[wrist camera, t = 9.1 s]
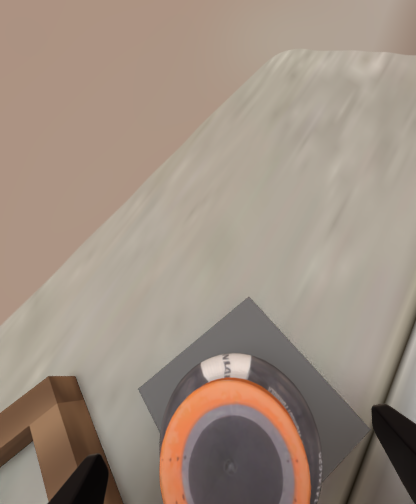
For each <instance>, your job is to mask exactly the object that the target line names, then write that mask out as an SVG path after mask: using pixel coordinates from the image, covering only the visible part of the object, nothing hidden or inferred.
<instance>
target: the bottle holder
mask: <svg viewBox="0 0 416 504" xmlns="http://www.w3.org/2000/svg"><path fill="white" fill-rule="evenodd" d="M32 441H34V445H35V449H36V453H37V457H38V461H39V465H40V469H41V473H42V477H43V481H44V485H45V489H46V493H47V497H48V501H50V500H51V499H52V498H53V496H54V495H55V494H56V493H57V491H58V490H59V489H60V488H61V487H62V485H63V484H64V483H65V482H66V481H67V479H68V478H69V477H70V476H71V474H72V473H73V472H74V471H75V470H76V468H77V467H78V466H79V465H80V463H81V462H82V461H83V460H84V459H85V458H86V457H87V456H88V455H90V454H96V453H100V454H101V455H102V457H103V459H104V461H105V463H106V465H107V467H108V470H109V478H108V484H107V489H106V494H105V499H104V504H123V502H122V499H121V496H120V494H119V491H118V489H117V486H116V483H115V481H114V478H113V475H112V473H111V470H110V467H109V465H108V462H107V459H106V457H105V454H104V452H103V449H102V446H101V444H100V441H99V438H98V436H97V433H96V430H95V428H94V425H93V423H92V420H91V417H90V415H89V412H88V409H87V407H86V404H85V401H84V399H83V396H82V393H81V391H80V388H79V386H78V383H77V380H76V378H75V376H48V377H47V378H45V379H44V380H43V381H42V382H40V383H39V384H38V385H36V386H35V387H34V388H32V389H31V390H30V391H28V392H27V393H26V394H25V395H23V396H22V397H21V398H19V399H18V400H17V401H15V402H14V403H13V404H11V405H10V406H9V407H8V408H6V409H5V410H4V411H2V412H1V413H0V467H1V466H2V465H4V464H5V463H6V462H7V461H8V460H10V459H11V458H12V457H13V456H15V455H16V454H17V453H18V452H20V451H21V450H22V449H23V448H25V447H26V446H27V445H28V444H30V443H31V442H32Z"/></svg>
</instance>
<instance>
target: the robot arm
mask: <svg viewBox="0 0 416 504" xmlns="http://www.w3.org/2000/svg"><path fill="white" fill-rule="evenodd" d="M372 425H373V429H374V431H375V433H376V435H377V437H378V439H379V441H380V443H381V444H382V446H383V448H384V450H385V452H386V454H387V455H388V457H389V459H390V461H391V463H392V465H393V466H394V468H395V470H396V472H397V474H398V476H399V477H400V479H401V481H402V483H403V485H404V486H405V488H406V490H407V492H408V494H409V495H410V497H411V499H412V500H413V502H414V504H416V424H415V423H414V422H412V421H411V420H409V419H408V418H406V417H405V416H404V415H402V414H401V413H399V412H398V411H396V410H395V409H393V408H392V407H390V406H389V405H387V404H378V405H373V406H372ZM108 478H109V470H108V467H107V465H106V463H105V461H104V459H103V457H102V455H101V454H100V453H96V454H90V455H88V456H87V457H86V458H85V459H84V460H83V461H82V462H81V463H80V465H79V466H78V467H77V468H76V470H75V471H74V472H73V473H72V474H71V476H70V477H69V478H68V479H67V481H66V482H65V483H64V484H63V485H62V487H61V488H60V489H59V490H58V491H57V493H56V494H55V495H54V496H53V498H52V499H51V500H50V501H49V502H48V504H104V499H105V494H106V489H107V484H108Z"/></svg>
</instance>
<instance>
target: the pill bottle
mask: <svg viewBox="0 0 416 504" xmlns="http://www.w3.org/2000/svg"><path fill="white" fill-rule="evenodd" d="M322 475H323V460H322V448H321V442H320V437H319V433H318V429H317V426H316V423H315V420H314V417H313V415H312V413H311V410H310V408H309V406H308V404H307V402H306V401H305V399H304V397H303V396H302V394H301V393H300V391H299V390H298V389H297V387H296V386H295V384H294V383H293V382H292V381H291V380H290V379H289V378H288V377H287V376H286V375H285V374H284V373H282V372H281V371H280V370H279V369H277V368H276V367H275V366H273V365H272V364H270V363H269V362H267V361H265V360H263V359H260V358H257V357H254V356H252V355H246V354H238V353H231V354H222V355H218V356H215V357H212V358H209V359H207V360H205V361H203V362H201V363H199V364H197V365H196V366H195V367H194V368H192V369H191V370H190V371H189V372H188V373H187V374H186V375H185V376H184V377H183V378H182V379H181V381H180V382H179V384H178V385H177V387H176V388H175V390H174V391H173V393H172V395H171V397H170V399H169V402H168V404H167V407H166V410H165V413H164V417H163V421H162V426H161V432H160V487H161V494H162V498H163V503H164V504H317V502H318V499H319V495H320V490H321V484H322Z"/></svg>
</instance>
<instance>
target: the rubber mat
mask: <svg viewBox="0 0 416 504" xmlns="http://www.w3.org/2000/svg"><path fill="white" fill-rule="evenodd" d="M231 353H238V354H246V355H252V356H254V357H257V358H260V359H263V360H265V361H267V362H269V363H270V364H272V365H273V366H275V367H276V368H277V369H279V370H280V371H281V372H282V373H284V374H285V375H286V376H287V377H288V378H289V379H290V380H291V381H292V382H293V383H294V384H295V386H296V387H297V389H298V390H299V391H300V393H301V394H302V396H303V397H304V399H305V401H306V402H307V404H308V406H309V408H310V410H311V413H312V415H313V417H314V420H315V423H316V426H317V429H318V433H319V437H320V442H321V448H322V460H323V475H322V482H323V481H324V480H325V479H326V478H327V477H328V476H329V475H330V473H331V472H332V471H333V470H334V469H335V468H336V467H337V466H338V465H339V464H340V463H341V461H342V460H343V459H344V458H345V457H346V456H347V455H348V454H349V453H350V452H351V451H352V449H353V448H354V447H355V446H356V445H357V444H358V443H359V442H360V441H361V440H362V439H363V437H364V436H365V435H366V434H367V433H368V432H369V431H370V430H371V429H370V428H369V427H368V426H367V425H366V424H365V423H364V422H363V421H362V420H361V418H360V417H359V416H358V415H357V414H356V413H355V412H354V411H353V410H352V409H351V408H350V406H349V405H348V404H347V403H346V402H345V401H344V400H343V399H342V398H341V397H340V396H339V394H338V393H337V392H336V391H335V390H334V389H333V388H332V387H331V386H330V385H329V384H328V382H327V381H326V380H325V379H324V378H323V377H322V376H321V375H320V374H319V373H318V371H317V370H316V369H315V368H314V367H313V366H312V365H311V364H310V363H309V362H308V361H307V359H306V358H305V357H304V356H303V355H302V354H301V353H300V352H299V351H298V350H297V349H296V347H295V346H294V345H293V344H292V343H291V342H290V341H289V340H288V339H287V338H286V337H285V335H284V334H283V333H282V332H281V331H280V330H279V329H278V328H277V327H276V326H275V324H274V323H273V322H272V321H271V320H270V319H269V318H268V317H267V316H266V315H265V314H264V312H263V311H262V310H261V309H260V308H259V307H258V306H257V305H256V304H255V303H254V302H253V300H252V299H251V298H250V297H248V298H246V299H245V300H244V301H243V302H242V303H240V304H239V305H238V306H237V307H236V308H234V309H233V310H232V311H231V312H230V313H228V314H227V315H226V316H225V317H224V318H222V319H221V320H220V321H219V322H218V323H217V324H215V325H214V326H213V327H212V328H211V329H209V330H208V331H207V332H206V333H205V334H203V335H202V336H201V337H200V338H199V339H197V340H196V341H195V342H194V343H193V344H191V345H190V346H189V347H188V348H187V349H185V350H184V351H183V352H182V353H181V354H179V355H178V356H177V357H176V358H175V359H173V360H172V361H171V362H170V363H169V364H167V365H166V366H165V367H164V368H163V369H161V370H160V371H159V372H158V373H157V374H155V375H154V376H153V377H152V378H151V379H149V380H148V381H147V382H146V383H145V384H143V385H142V386H141V387H140V388H139V389H138V390H139V392H140V394H141V396H142V398H143V400H144V402H145V404H146V406H147V408H148V410H149V412H150V414H151V416H152V418H153V420H154V422H155V424H156V426H157V428H158V430H159V432H161V426H162V421H163V417H164V413H165V410H166V407H167V404H168V402H169V399H170V397H171V395H172V393H173V391H174V390H175V388H176V387H177V385H178V384H179V382H180V381H181V379H182V378H183V377H184V376H185V375H186V374H187V373H188V372H189V371H190V370H191V369H192V368H194V367H195V366H196V365H197V364H199V363H201V362H203V361H205V360H207V359H209V358H212V357H215V356H218V355H222V354H231Z"/></svg>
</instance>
